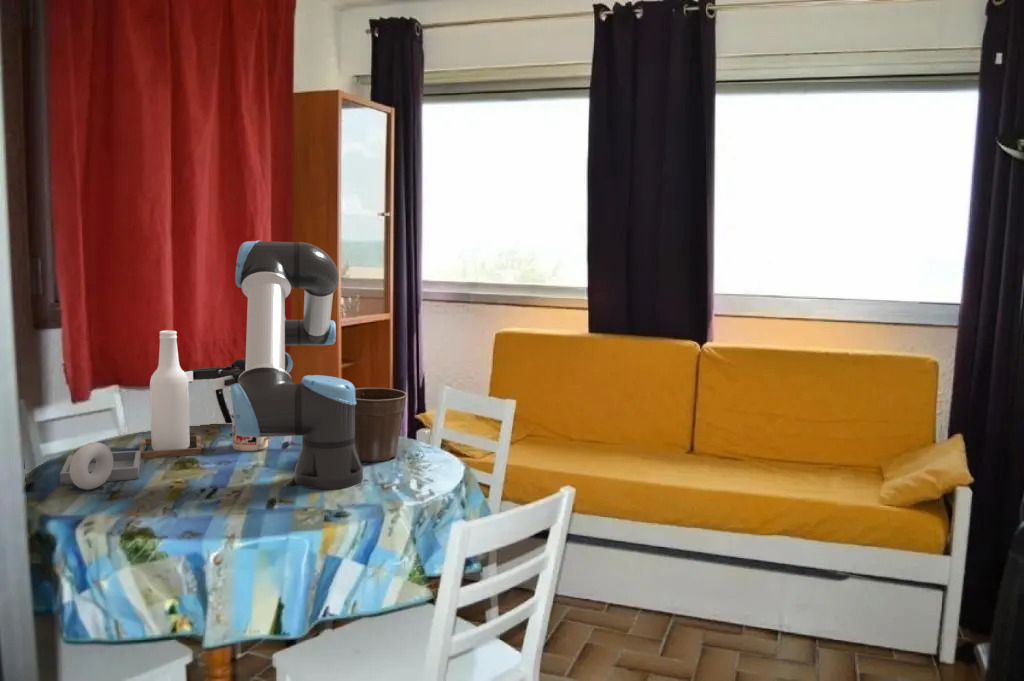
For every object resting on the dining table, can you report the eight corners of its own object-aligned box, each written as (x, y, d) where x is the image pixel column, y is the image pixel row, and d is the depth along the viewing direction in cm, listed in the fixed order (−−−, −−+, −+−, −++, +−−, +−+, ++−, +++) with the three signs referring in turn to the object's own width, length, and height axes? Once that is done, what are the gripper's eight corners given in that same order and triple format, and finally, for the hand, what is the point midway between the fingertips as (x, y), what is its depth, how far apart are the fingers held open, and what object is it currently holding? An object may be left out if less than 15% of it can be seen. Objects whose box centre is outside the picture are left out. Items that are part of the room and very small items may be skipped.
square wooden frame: (201, 454, 192) (201, 448, 192) (139, 458, 186) (138, 452, 186) (200, 440, 205) (200, 434, 205) (141, 444, 199) (141, 438, 199)
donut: (79, 496, 159) (77, 449, 158) (66, 494, 160) (64, 447, 159) (118, 483, 168) (116, 438, 167) (105, 481, 169) (104, 436, 168)
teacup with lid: (224, 450, 196) (224, 405, 195) (243, 441, 205) (243, 398, 204) (268, 454, 194) (268, 408, 193) (285, 445, 203) (285, 401, 202)
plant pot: (393, 445, 207) (394, 385, 205) (415, 461, 193) (416, 397, 191) (333, 450, 199) (333, 389, 197) (351, 467, 185) (351, 401, 183)
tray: (138, 478, 172) (137, 467, 171) (60, 485, 166) (59, 473, 165) (141, 460, 185) (140, 450, 185) (69, 465, 179) (68, 455, 179)
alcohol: (144, 452, 192) (140, 332, 188) (164, 443, 201) (161, 328, 197) (177, 455, 191) (174, 334, 187) (196, 445, 199) (194, 330, 195)
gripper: (285, 387, 217) (231, 401, 197) (215, 379, 226) (157, 391, 206) (285, 361, 216) (231, 372, 196) (214, 353, 225) (156, 363, 205)
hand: (193, 382), depth 201 cm, fingers open, 13 cm apart
